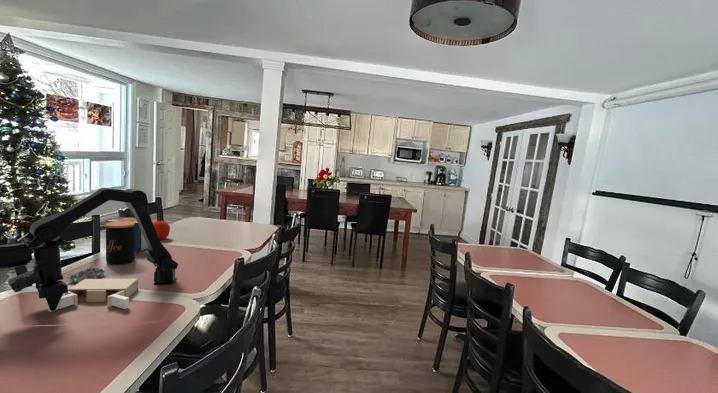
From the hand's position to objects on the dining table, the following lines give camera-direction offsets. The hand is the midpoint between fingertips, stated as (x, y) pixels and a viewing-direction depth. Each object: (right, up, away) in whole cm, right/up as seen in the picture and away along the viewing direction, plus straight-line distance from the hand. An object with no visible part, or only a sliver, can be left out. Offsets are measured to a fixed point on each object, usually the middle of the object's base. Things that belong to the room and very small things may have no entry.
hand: (52, 308), depth 99 cm
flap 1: (0, -1, +2) cm, 3 cm away
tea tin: (+11, 0, +14) cm, 18 cm away
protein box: (-23, +8, +64) cm, 69 cm away
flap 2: (+17, -1, +7) cm, 19 cm away
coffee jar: (-13, +5, +46) cm, 48 cm away
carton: (+6, 0, +13) cm, 15 cm away
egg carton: (-11, +2, +25) cm, 27 cm away
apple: (-20, +10, +85) cm, 88 cm away
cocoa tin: (+1, +1, +12) cm, 12 cm away
